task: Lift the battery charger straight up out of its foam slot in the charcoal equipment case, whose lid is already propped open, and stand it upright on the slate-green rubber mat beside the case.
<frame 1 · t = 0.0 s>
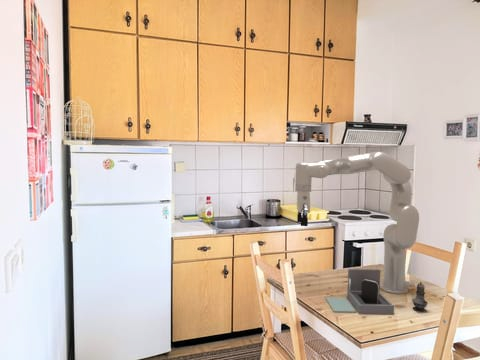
hand: (302, 224, 169), 31 cm above the table, tool pointing down, fingers open, 9 cm apart
rubber mat: (339, 305, 151), on the table
equipment case: (369, 305, 151), on the table
battery charger: (370, 306, 151), resting in equipment case
dark grey upright piece: (419, 310, 148), on the table
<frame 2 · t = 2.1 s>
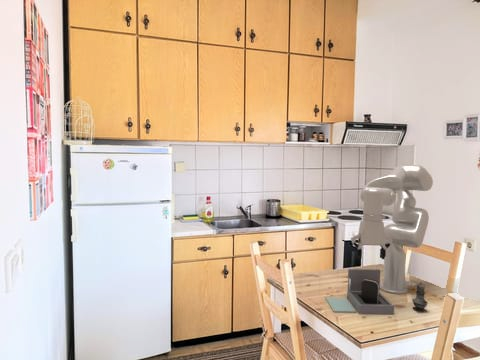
hand: (370, 258, 149), 21 cm above the table, tool pointing down, fingers open, 9 cm apart
nothing on the table moved.
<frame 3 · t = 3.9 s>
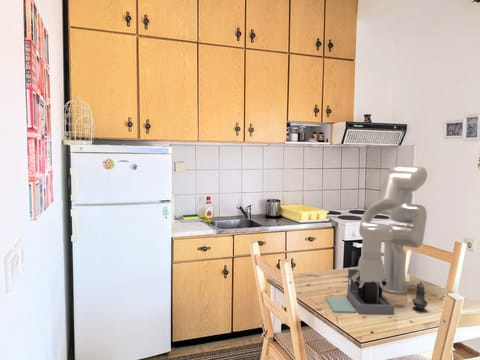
hand: (369, 295, 151), 4 cm above the table, tool pointing down, fingers closed on battery charger, 7 cm apart
battery charger: (369, 306, 151), resting in equipment case, touching gripper
everything else where it was.
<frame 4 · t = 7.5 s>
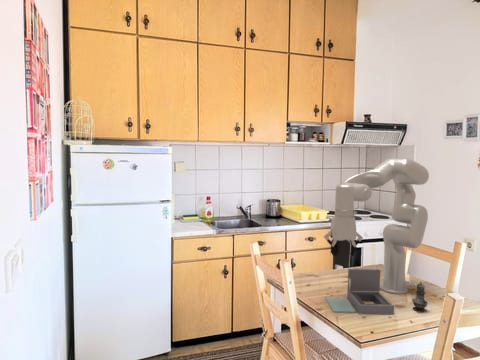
hand: (342, 254, 150), 22 cm above the table, tool pointing down, fingers closed on battery charger, 7 cm apart
battery charger: (342, 265, 150), point 17 cm above the table, touching gripper
everything else where it was.
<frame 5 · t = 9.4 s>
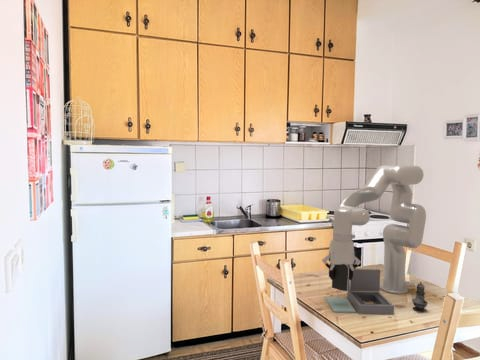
hand: (340, 278, 150), 12 cm above the table, tool pointing down, fingers closed on battery charger, 7 cm apart
battery charger: (340, 289, 150), point 7 cm above the table, touching gripper
everything else where it was.
when the fingers open (6 cm above the table, at t = 11.0 s): battery charger drops 1 cm, resting on rubber mat.
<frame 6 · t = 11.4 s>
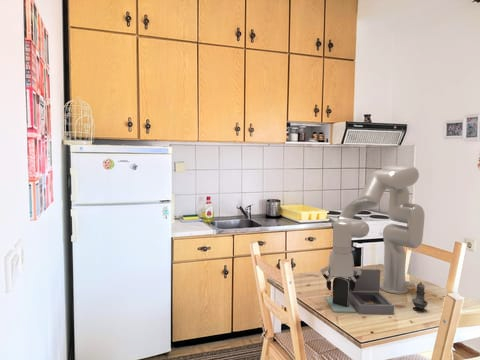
hand: (340, 289, 151), 7 cm above the table, tool pointing down, fingers open, 9 cm apart
battery charger: (341, 304, 151), resting on rubber mat
everything else where it was.
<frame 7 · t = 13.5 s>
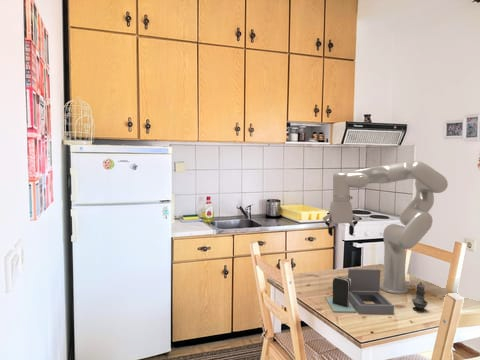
hand: (340, 235, 166), 27 cm above the table, tool pointing down, fingers open, 9 cm apart
nothing on the table moved.
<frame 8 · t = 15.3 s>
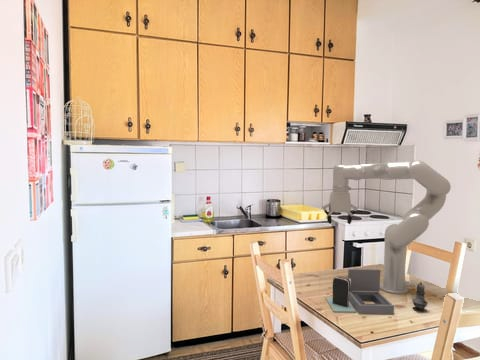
hand: (339, 223, 177), 30 cm above the table, tool pointing down, fingers open, 9 cm apart
nothing on the table moved.
at the end: battery charger inside the target area on the rubber mat (0.5 cm from its centre), point 0.4 cm above the rubber mat's base; battery charger tilted 0°; the gripper is holding nothing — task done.
